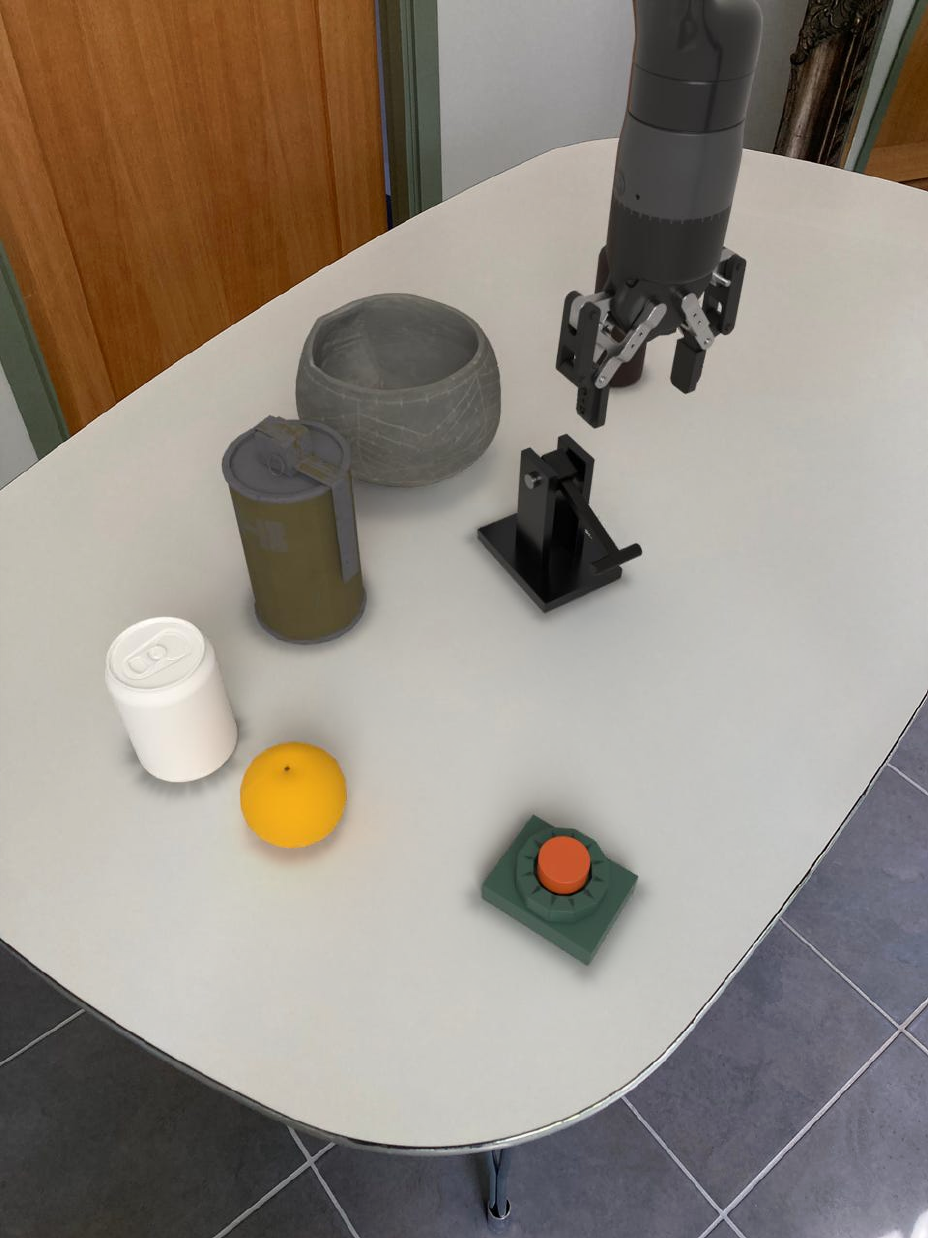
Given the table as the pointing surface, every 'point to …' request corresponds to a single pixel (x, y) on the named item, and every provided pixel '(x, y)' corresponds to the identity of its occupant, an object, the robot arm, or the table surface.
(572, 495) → the lever
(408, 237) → the table surface
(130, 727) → the beverage can
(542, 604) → the bracket
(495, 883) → the button box
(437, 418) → the bowl
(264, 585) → the canister
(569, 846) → the button
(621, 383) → the bottle
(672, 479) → the table surface
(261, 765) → the orange
